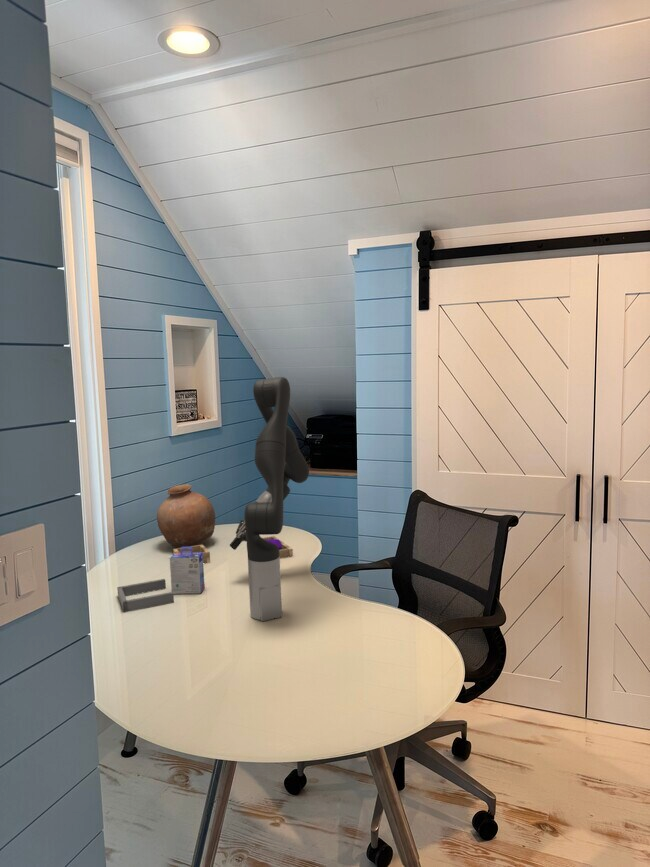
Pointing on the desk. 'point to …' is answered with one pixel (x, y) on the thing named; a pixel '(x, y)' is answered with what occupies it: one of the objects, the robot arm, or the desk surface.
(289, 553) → the crystal cradle
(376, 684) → the desk surface
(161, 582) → the bay
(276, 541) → the crystal
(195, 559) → the ink cartridge box
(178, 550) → the wooden tray
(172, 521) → the pottery
